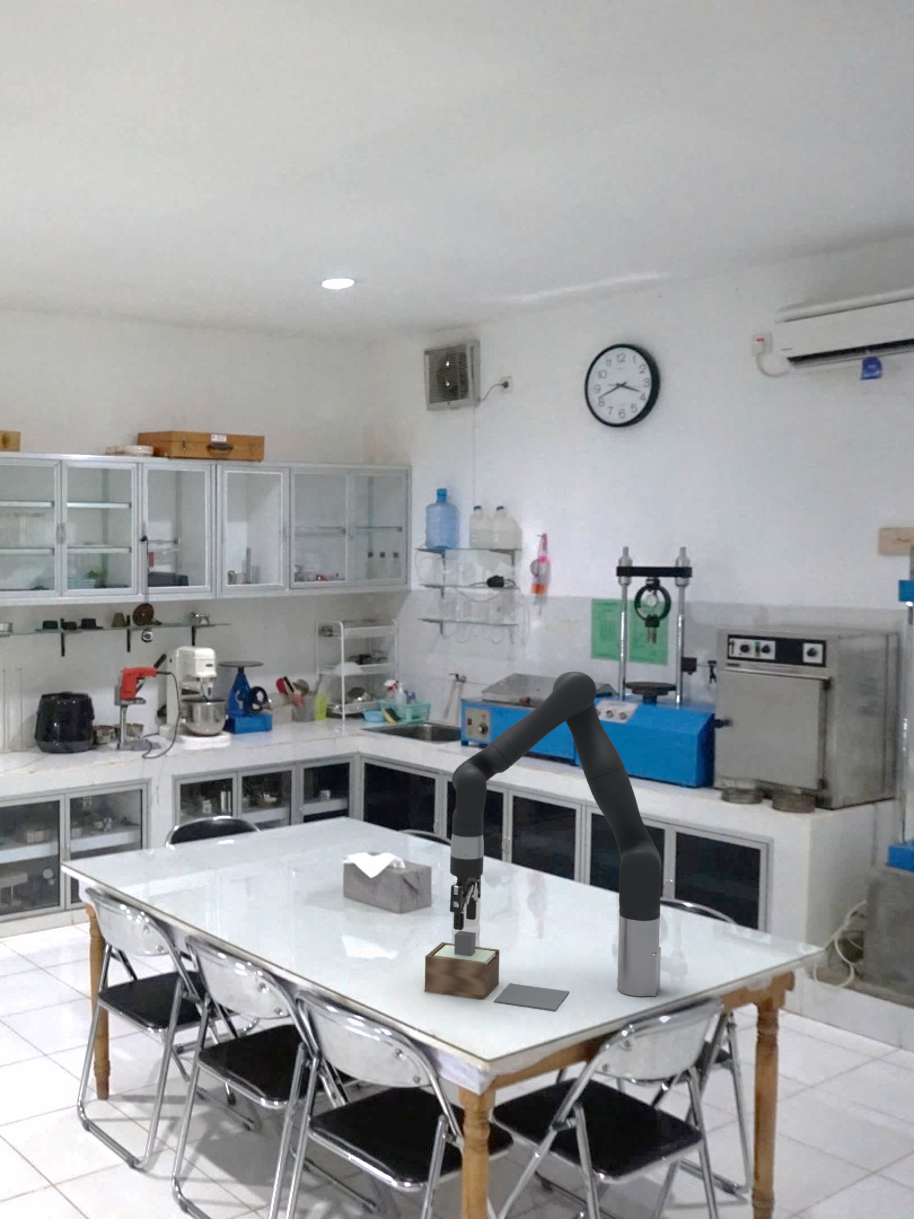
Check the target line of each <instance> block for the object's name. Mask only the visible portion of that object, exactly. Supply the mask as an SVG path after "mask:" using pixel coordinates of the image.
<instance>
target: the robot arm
mask: <svg viewBox="0 0 914 1219" xmlns="http://www.w3.org/2000/svg"><path fill="white" fill-rule="evenodd" d="M597 692H598V691H597V685H596V682H595V681H594V679H593V678H592V677H591V676H589V675H588V674H587V673H584V672H582V671H568V672H565V673H562V674H560V675H559V676H558V677H557V678H556V679H555V681H554V683H553V686H552V692H551V693H550V694H549V695H548V696H547V698H545V700H543V701H542V702H541V703H540V705H538V706H537V707H536V708H534V709H533V710H532V711H531V712H530V713H528V714H527V715H525V716H524V717H522V718H521V719H519V720H518V721H516V722H514V724H512V725H511V726H509V727H508V728H507V729H505V730H504V731H502V733H501V734H499V735H498V736H497V737H496V738H495V739H494V740H492V741H491V742H490V743H488V745H487V746H485V748H483V749H481V750H480V751H478V752H477V753H475V754H474V755H472V756H471V757H469V758H467V759H466V760H465V761H463V762H462V763H461V764H459V765H458V767H456V768H455V769H454V771H453V774H452V777H451V783H452V786H453V787H454V789H455V809H454V811H453V813H452V825H451V826H452V829H451V830H452V833H451V840H450V853H449V854H450V857H449V858H450V859H449V860H450V862H449V863H450V864H449V873H450V874H451V876H453V877H454V876H456V877H457V883H456V884H455V885H453V884H451V885H450V896H449V897H450V900H449V912H450V913H452V912H453V913H454V929H455V930H462V929H464V912H465V907H466V918H467V919H470V920H475V919H476V905H477V904H476V903H477V902H478V898H480V897H481V898H482V896H481V894H482V890H481V889H482V875H483V874H484V856H485V855H484V854H485V853H484V852H485V850H484V849H485V841H484V811H485V806H486V799H487V789H488V788H487V787H488V785H487V782H488V781H489V780H490V779H491V778H493V777H494V776H496V775H497V774H502V773H504V772H506V771H507V770H509V769H510V768H511V767H512V766H513V765H514V764H515V763H517V762H518V761H519V760H520V759H521V758H523V757H524V756H525V755H526V754H528V752H529V751H531V750H532V749H533V748H534V747H535V746H536V745H537V744H538V743H539V742H541V740H543V739H544V738H545V737H546V736H548V734H550V733H551V732H553V731H554V730H555V729H557V728H558V727H559V726H560V725H562V724H563V723H566V725H567V727H568V729H569V731H570V734H571V735H572V738H573V743H574V745H575V748H576V749H575V750H576V752H577V755H578V759H579V763H580V766H581V769H582V771H583V774H584V777H585V779H586V781H587V782H586V783H587V784H588V788H589V789H590V792H591V796H592V798H593V799H594V801H595V803H596V805H597V806H598V809H599V810H600V811H601V813H602V814H603V816H604V818H605V820H606V821H607V822H608V824H609V827H610V828H611V831H612V832H613V836H614V839H615V842H616V845H617V849H618V852H619V857H620V863H619V871H618V872H619V873H618V874H619V878H618V879H619V880H618V887H619V888H618V906H619V908H618V946H617V947H618V948H617V977H616V982H617V983H616V986H617V990H618V991H619V992H621V993H622V994H625V995H627V996H632V997H656V995H657V994H658V992H659V991H660V989H661V962H662V961H661V959H662V958H661V957H662V956H661V955H662V948H661V946H660V931H661V930H660V929H661V928H660V927H661V926H660V925H661V920H660V919H661V892H662V891H661V890H662V889H661V888H662V879H661V878H662V858H661V855H660V852H659V851H658V848H657V846H656V845H655V843H654V841H653V839H652V838H651V836H650V834H649V832H648V828H647V827H646V825H645V823H644V821H643V818H642V816H641V813H640V809H639V805H638V802H637V798H636V795H635V794H636V793H635V792H634V788H633V787H632V786H633V785H632V783H631V780H630V776H629V774H628V772H627V769H626V767H625V763H624V762H623V759H622V757H621V756H620V753H619V751H618V750H617V748H616V746H615V744H614V743H613V741H612V740H611V738H610V736H609V735H608V733H607V732H606V730H605V728H604V726H603V724H602V722H601V720H600V717H599V714H598V711H597V708H596V705H595V700H596V697H597ZM457 905H458V907H457Z"/></svg>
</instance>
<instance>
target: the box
mask: <svg viewBox="0 0 914 1219" xmlns="http://www.w3.org/2000/svg"><path fill="white" fill-rule="evenodd" d="M445 945H451V946H454V945H455V944H452V942H451V943H450V942H445V941H444V942H443V941H442V942H441V943H440V944H438V945H437V946H436V947H435V948H433V949H432V950H431V951H430V952H428V954H426V955H425V956H424V957H425V958H424V960H425V962H424V965H425V966H424V992H426V993H433V994H440V995H446V996H451V997H453V996H454V997H458V998H459V997H460V998H467V999H473V1000H482V1001H484V1000H485V999H486V998H488V996H489V995H490V994H491V993H492V992H493V991H494V989H496V988H497V986H498V985H499V984H500V983H499V982H500V949H497V948H491V947H490V948H489V947H488V948H487V947H481V946H480V947H475V949H481V950H489V951H495V956H494V957H493V958H492V959H491V960H490V961H489V962H488V963H487V964H486V963H482V962H474V961H467V960H460V959H452V958H445V957H437V956H434V955H435V954H436V953H437V952H438V951H439V950H441V949H442V948H443V947H444V946H445ZM495 987H496V988H495Z"/></svg>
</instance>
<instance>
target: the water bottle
mask: <svg viewBox="0 0 914 1219" xmlns="http://www.w3.org/2000/svg"><path fill="white" fill-rule="evenodd" d="M452 878H453V879H452V885H455V884H456V883H457V877H456V876H453V877H452ZM481 898H482V896H481V897H480V898H478V902H477V903H476V904H477V905H476V919H475V920H470V919H467V918H466V907H465V912H464V929H462V930H455V929H454V913H453V912H451V914H452V916H451V917H452V918H451V919H452V925H451V935H452V936H451V943H452V944H455V934H456V933H457V932H458V931H465V932H473V933H476V943H475V947H481V942H480V941H481V940H480V935H481V934H480V933H481V925H480V921H481V908H482V907H481V906H482V902H481V901H482V900H481ZM457 907H458V905H457Z"/></svg>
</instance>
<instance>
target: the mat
mask: <svg viewBox="0 0 914 1219" xmlns="http://www.w3.org/2000/svg"><path fill="white" fill-rule="evenodd" d="M569 994H570V990H562V989H554V988H547V987H540V986H535V985H534V986H532V985H525V984H519V983H518V984H517V983H512V982H509V984H508V985H507V986H506V987H505V988H504V989H503V990H502V991H501V992H500V993H499V995H498V996H496V997H495V998H494V1000H493V1003H494V1004H503V1005H509V1006H516V1007H523V1008H530V1009H535V1010H544V1011H551V1012H556V1011H557V1010H558V1009H559V1007H560V1006H561V1005H562V1003H564V1001H565V999H566V998H567V997H568V996H569Z"/></svg>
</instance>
